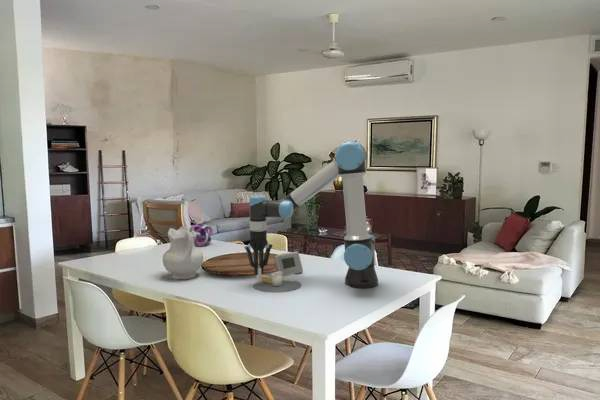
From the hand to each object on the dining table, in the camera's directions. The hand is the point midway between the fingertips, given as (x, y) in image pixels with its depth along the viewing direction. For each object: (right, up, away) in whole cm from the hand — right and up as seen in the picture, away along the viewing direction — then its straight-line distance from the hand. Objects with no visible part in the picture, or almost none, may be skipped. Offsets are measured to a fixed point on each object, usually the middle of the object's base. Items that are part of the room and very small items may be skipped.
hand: (258, 281), depth 210 cm
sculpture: (-48, +7, +98) cm, 110 cm away
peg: (+5, -1, +1) cm, 5 cm away
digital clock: (+13, -1, +20) cm, 24 cm away
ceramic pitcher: (-38, -1, +17) cm, 41 cm away
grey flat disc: (+8, -2, -2) cm, 9 cm away
